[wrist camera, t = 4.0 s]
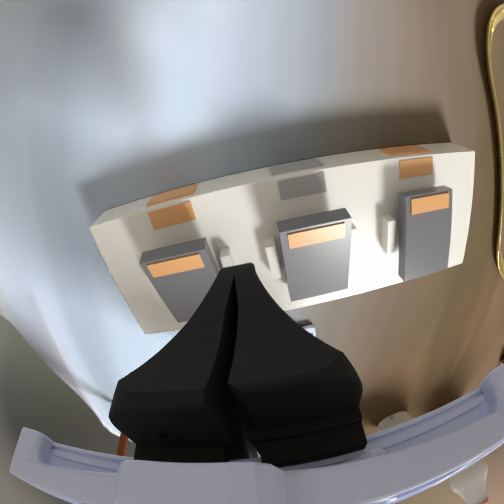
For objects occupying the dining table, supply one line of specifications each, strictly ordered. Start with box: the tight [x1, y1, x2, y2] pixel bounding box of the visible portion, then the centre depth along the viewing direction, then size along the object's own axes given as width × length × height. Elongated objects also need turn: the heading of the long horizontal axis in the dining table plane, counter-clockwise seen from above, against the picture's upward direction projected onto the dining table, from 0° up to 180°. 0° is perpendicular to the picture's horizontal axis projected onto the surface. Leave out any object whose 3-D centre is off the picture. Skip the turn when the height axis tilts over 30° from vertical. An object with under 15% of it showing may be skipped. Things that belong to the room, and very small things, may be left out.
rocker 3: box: [398, 185, 452, 282], centre depth 17 cm, size 6×4×1 cm, turn 12°
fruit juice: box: [450, 458, 488, 504], centre depth 34 cm, size 9×9×28 cm
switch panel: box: [89, 143, 475, 334], centre depth 19 cm, size 10×28×4 cm, turn 102°
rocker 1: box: [139, 237, 219, 323], centre depth 18 cm, size 6×4×1 cm, turn 12°
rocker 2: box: [276, 208, 352, 302], centre depth 17 cm, size 6×4×1 cm, turn 12°
